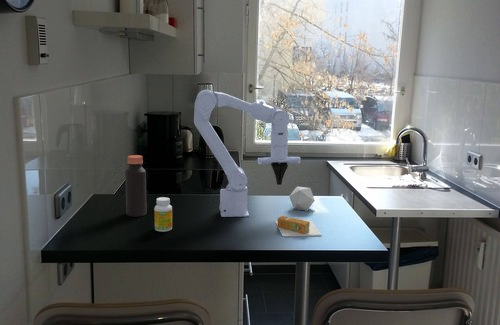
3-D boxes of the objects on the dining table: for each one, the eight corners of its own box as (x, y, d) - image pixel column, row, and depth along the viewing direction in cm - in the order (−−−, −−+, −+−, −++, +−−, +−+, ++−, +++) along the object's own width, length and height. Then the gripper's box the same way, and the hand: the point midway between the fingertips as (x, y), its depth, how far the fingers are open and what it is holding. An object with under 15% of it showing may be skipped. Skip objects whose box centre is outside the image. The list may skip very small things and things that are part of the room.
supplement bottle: (157, 232, 151) (157, 202, 149) (152, 227, 155) (152, 197, 153) (174, 230, 153) (174, 200, 151) (169, 225, 158) (168, 195, 156)
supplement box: (276, 217, 155) (305, 223, 150) (282, 215, 158) (310, 221, 153) (276, 228, 156) (304, 234, 151) (282, 225, 159) (310, 231, 153)
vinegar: (132, 218, 164) (130, 159, 160) (122, 213, 169) (120, 155, 165) (150, 214, 168) (149, 156, 164) (140, 210, 173) (139, 153, 169)
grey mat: (282, 236, 149) (282, 235, 149) (275, 222, 163) (275, 220, 163) (321, 235, 151) (321, 234, 151) (311, 221, 164) (311, 220, 164)
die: (317, 209, 181) (307, 185, 184) (318, 203, 173) (307, 179, 176) (296, 217, 181) (286, 193, 184) (296, 212, 172) (286, 187, 176)
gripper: (259, 147, 164) (259, 187, 166) (302, 146, 165) (302, 186, 168) (256, 144, 171) (257, 182, 173) (298, 143, 172) (297, 181, 175)
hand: (279, 184), depth 171 cm, fingers closed
